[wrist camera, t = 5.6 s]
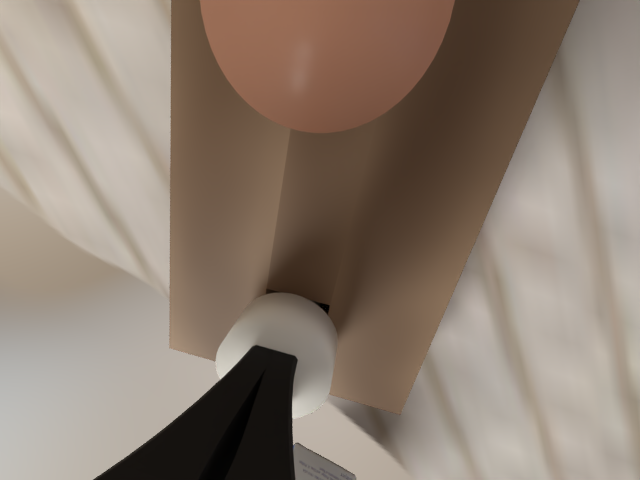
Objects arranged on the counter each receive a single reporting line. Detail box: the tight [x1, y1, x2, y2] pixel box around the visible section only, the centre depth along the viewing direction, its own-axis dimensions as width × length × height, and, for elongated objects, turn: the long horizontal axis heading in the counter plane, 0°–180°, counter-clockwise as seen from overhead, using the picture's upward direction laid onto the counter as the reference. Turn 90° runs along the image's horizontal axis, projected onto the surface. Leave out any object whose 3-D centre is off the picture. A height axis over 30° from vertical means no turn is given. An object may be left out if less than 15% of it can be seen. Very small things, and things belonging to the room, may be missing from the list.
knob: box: [216, 293, 338, 419], centre depth 12 cm, size 4×4×4 cm
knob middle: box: [200, 0, 455, 133], centre depth 6 cm, size 4×4×4 cm
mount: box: [169, 0, 580, 415], centre depth 10 cm, size 10×24×3 cm, turn 169°
